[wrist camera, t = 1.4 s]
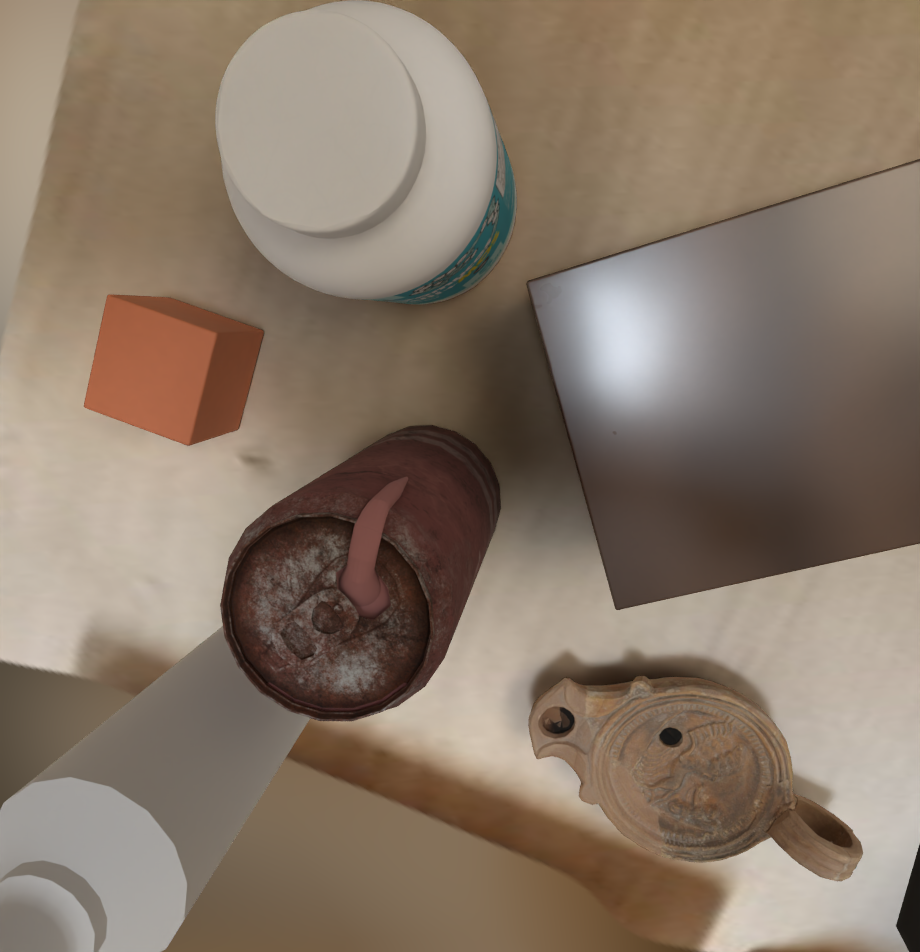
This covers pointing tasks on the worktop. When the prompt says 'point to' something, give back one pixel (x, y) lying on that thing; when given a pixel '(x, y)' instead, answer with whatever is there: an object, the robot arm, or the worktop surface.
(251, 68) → the pill bottle
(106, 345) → the block
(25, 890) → the bottle
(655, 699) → the oil lamp
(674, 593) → the cabinet
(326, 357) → the worktop surface
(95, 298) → the worktop surface
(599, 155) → the worktop surface
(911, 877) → the robot arm
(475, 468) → the can
